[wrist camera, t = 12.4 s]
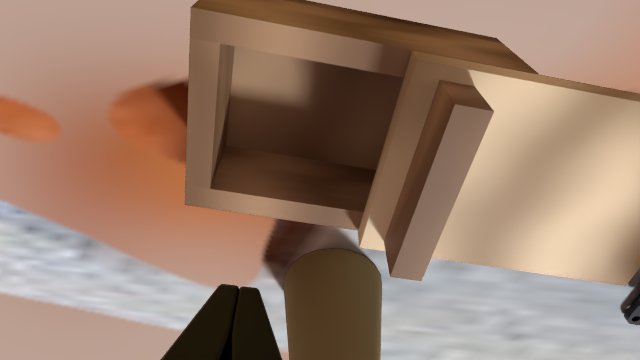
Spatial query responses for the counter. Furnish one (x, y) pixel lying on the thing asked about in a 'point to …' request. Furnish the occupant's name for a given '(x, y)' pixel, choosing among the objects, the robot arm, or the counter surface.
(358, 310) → the brown bottle
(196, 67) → the toolbox
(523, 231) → the lid
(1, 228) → the counter surface
